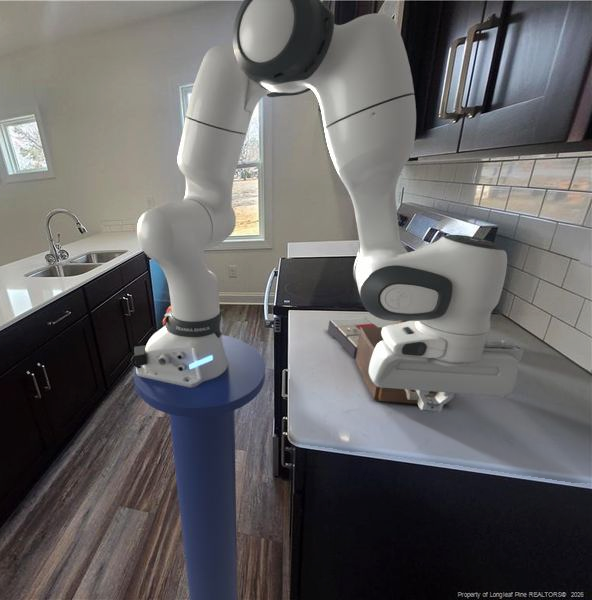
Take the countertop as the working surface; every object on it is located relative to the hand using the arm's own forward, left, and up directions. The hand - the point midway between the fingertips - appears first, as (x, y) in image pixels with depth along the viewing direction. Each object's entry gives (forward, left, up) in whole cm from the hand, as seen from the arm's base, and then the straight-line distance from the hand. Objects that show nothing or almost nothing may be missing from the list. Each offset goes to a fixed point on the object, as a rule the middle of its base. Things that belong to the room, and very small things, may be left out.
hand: (428, 408), depth 55 cm
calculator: (-3, +31, -5) cm, 32 cm away
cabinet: (0, +14, -4) cm, 15 cm away
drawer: (0, +10, -4) cm, 11 cm away
